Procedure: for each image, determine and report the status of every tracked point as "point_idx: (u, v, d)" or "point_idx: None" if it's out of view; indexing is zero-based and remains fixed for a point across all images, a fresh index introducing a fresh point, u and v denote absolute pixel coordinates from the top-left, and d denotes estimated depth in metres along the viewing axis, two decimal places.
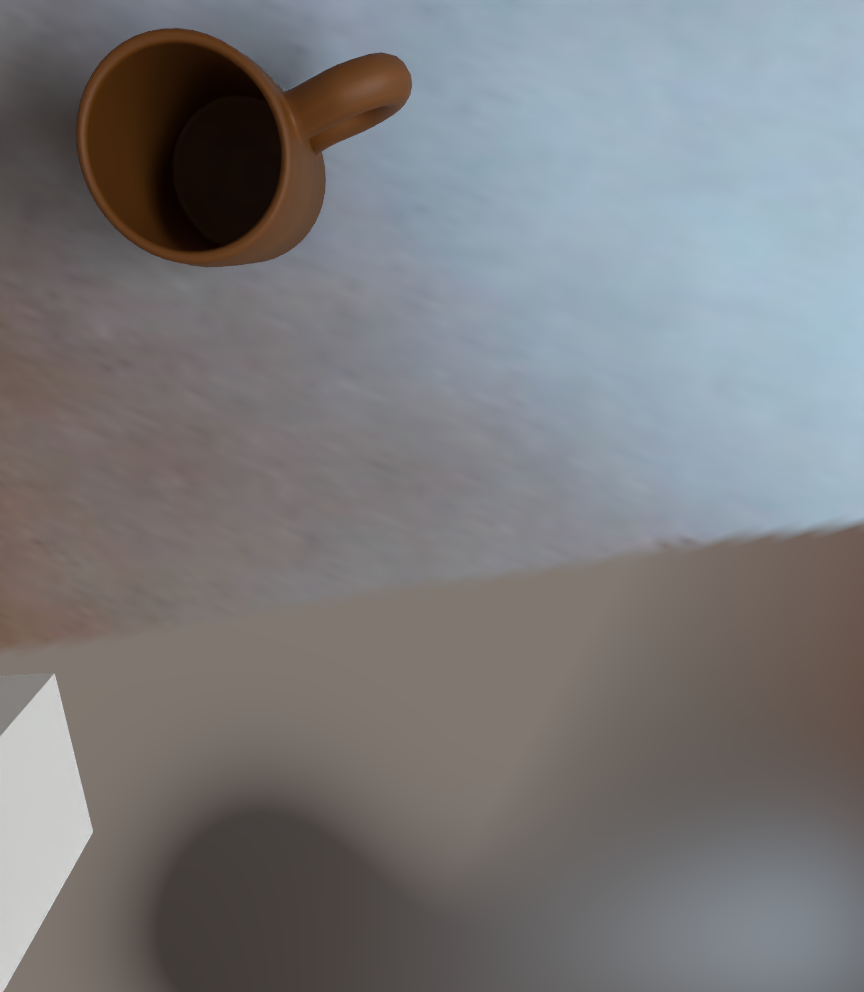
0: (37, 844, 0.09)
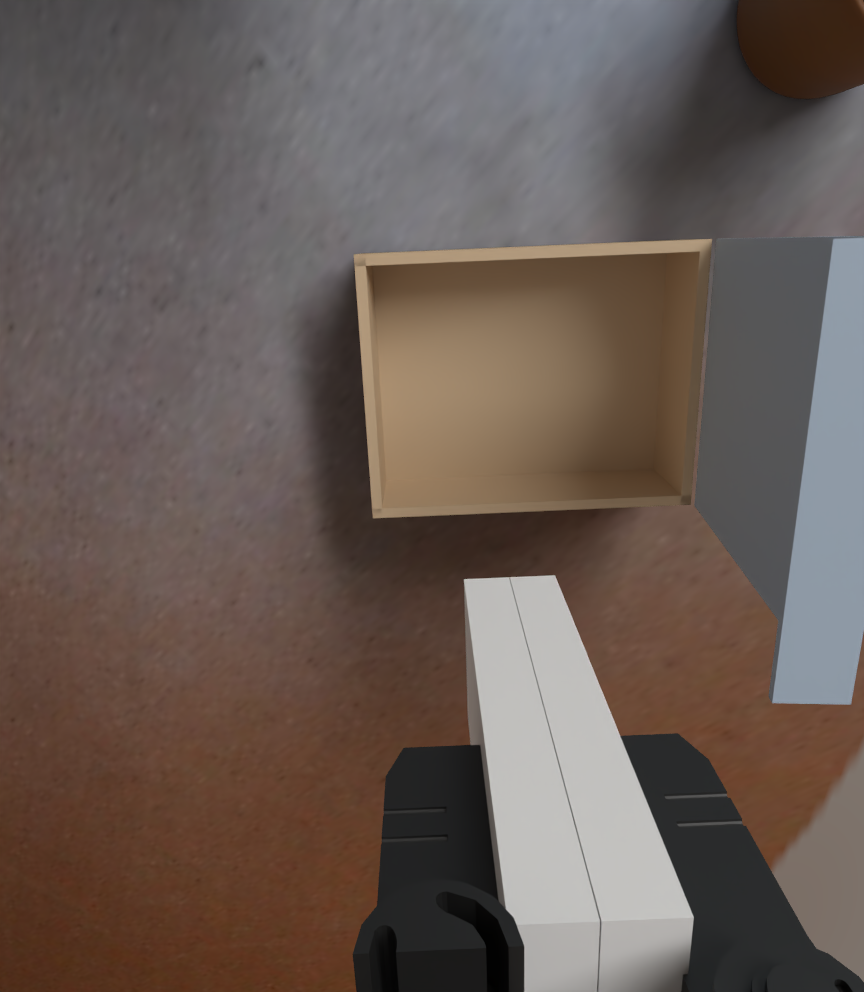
0: None
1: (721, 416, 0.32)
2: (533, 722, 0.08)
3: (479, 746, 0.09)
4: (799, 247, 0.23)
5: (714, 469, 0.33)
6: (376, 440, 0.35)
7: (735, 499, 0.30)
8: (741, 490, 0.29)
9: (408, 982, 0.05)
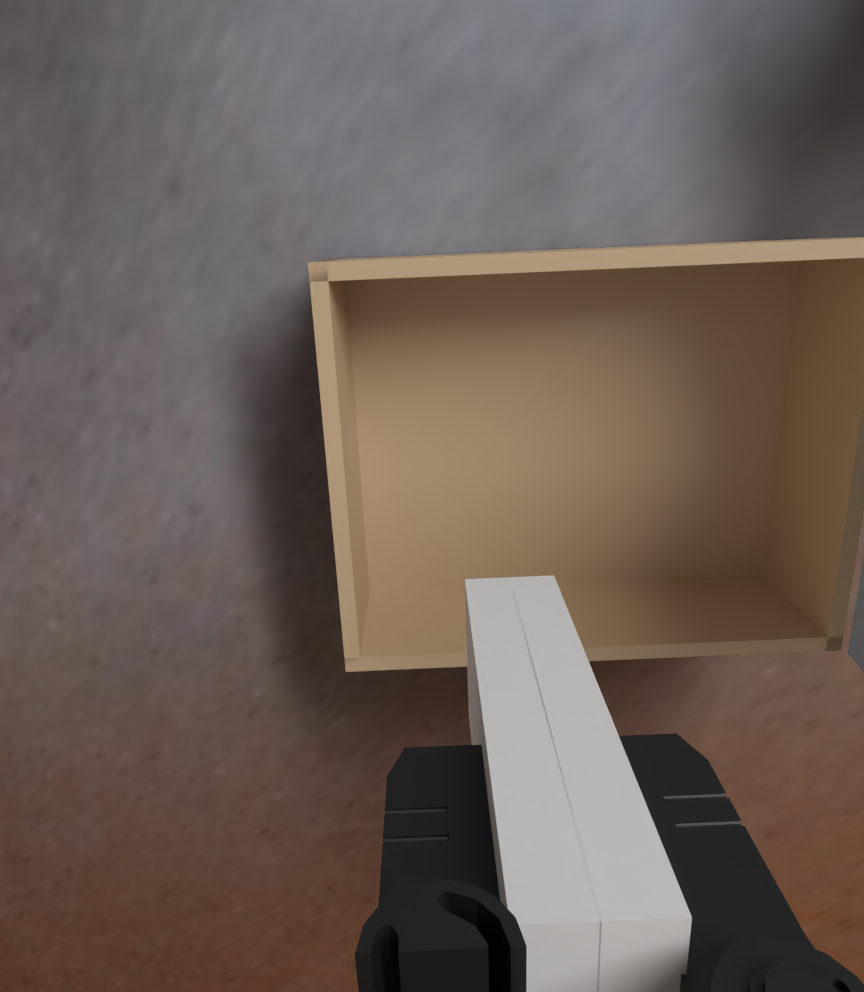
0: None
1: None
2: (532, 722, 0.08)
3: (480, 746, 0.09)
4: None
5: None
6: (349, 557, 0.22)
7: None
8: None
9: (410, 982, 0.05)
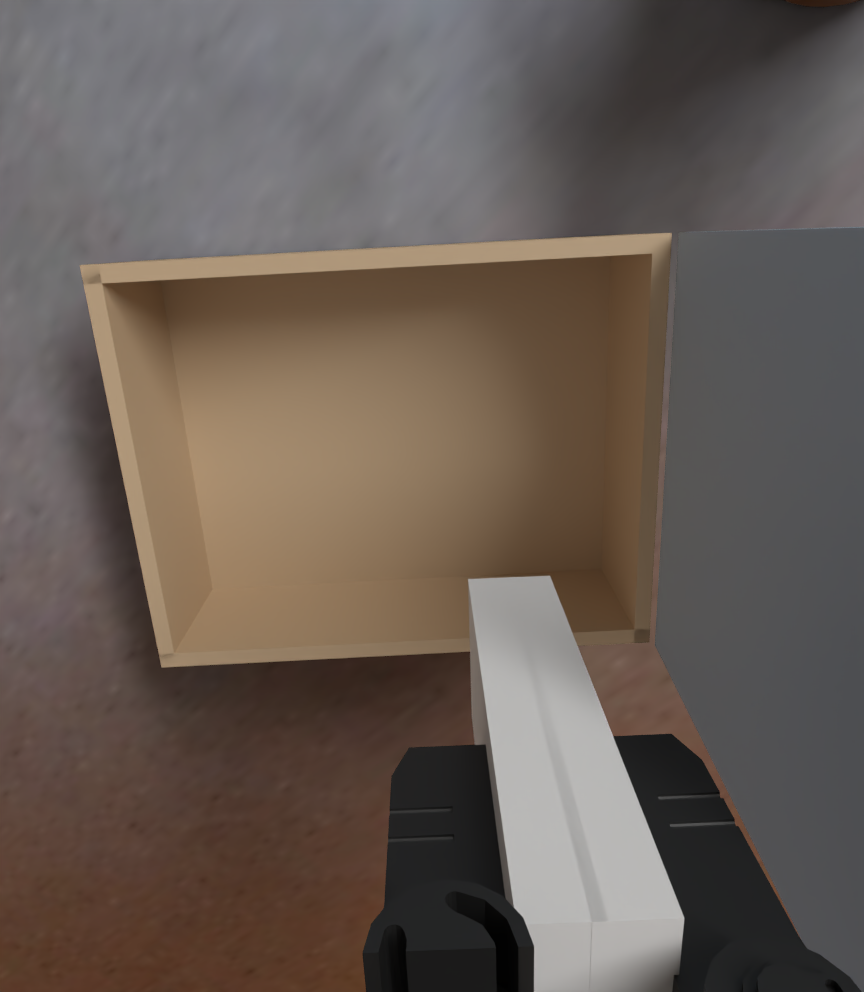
0: None
1: (695, 530, 0.19)
2: (526, 722, 0.08)
3: (484, 746, 0.09)
4: None
5: (686, 610, 0.20)
6: (153, 554, 0.22)
7: (727, 688, 0.17)
8: (739, 681, 0.16)
9: (418, 982, 0.05)
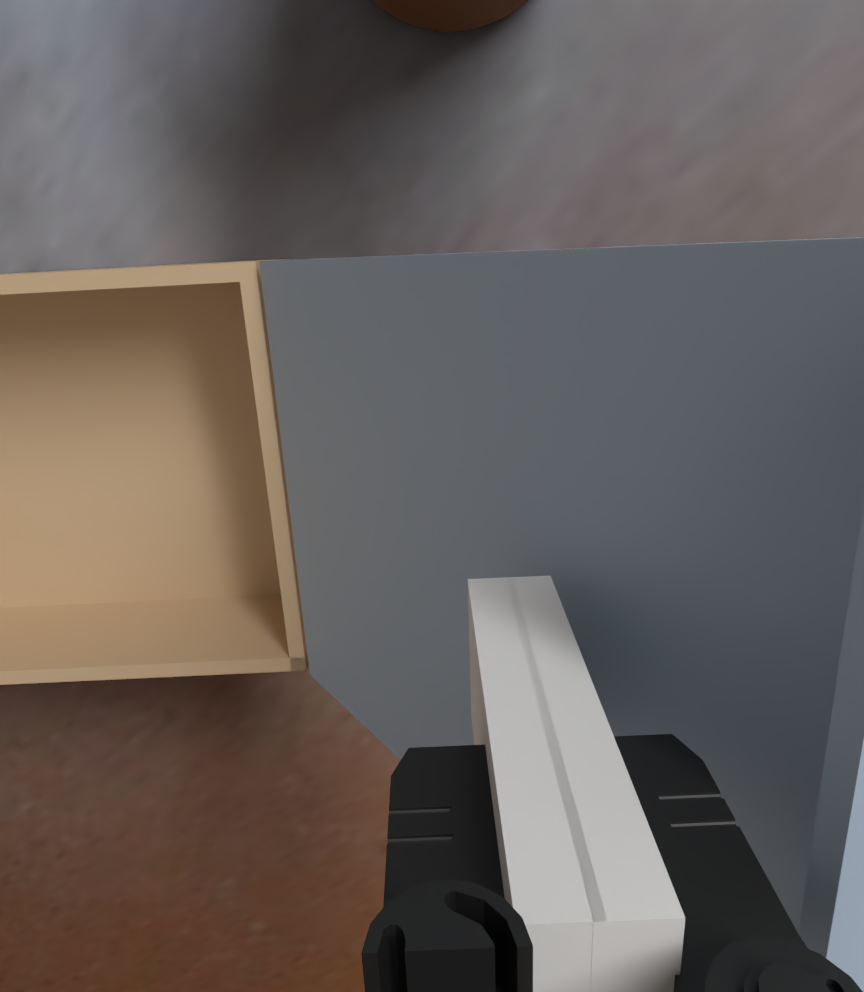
0: None
1: (340, 551, 0.19)
2: (527, 722, 0.08)
3: (484, 746, 0.09)
4: (503, 271, 0.12)
5: (345, 631, 0.20)
6: None
7: (411, 693, 0.18)
8: (424, 683, 0.17)
9: (417, 981, 0.05)
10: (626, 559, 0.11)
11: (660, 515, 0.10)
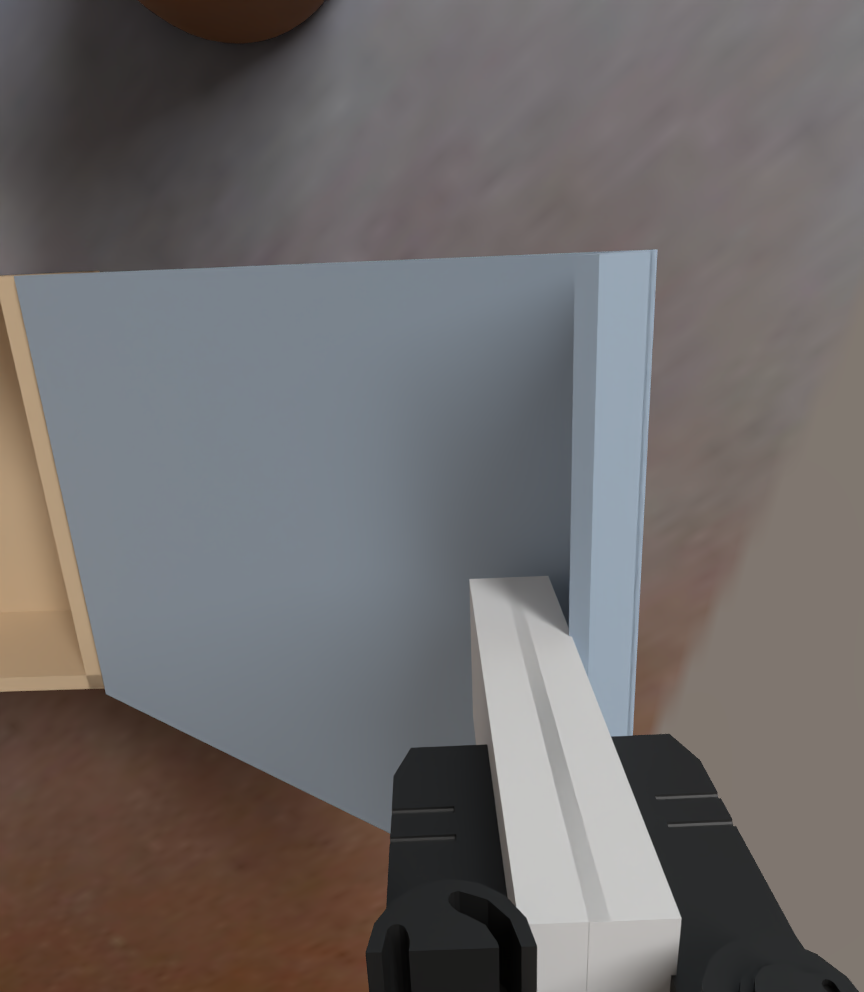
0: None
1: (134, 558, 0.20)
2: (524, 723, 0.08)
3: (486, 746, 0.09)
4: (284, 282, 0.14)
5: (145, 637, 0.20)
6: None
7: (224, 679, 0.19)
8: (237, 666, 0.18)
9: (421, 981, 0.05)
10: (412, 511, 0.14)
11: (435, 471, 0.13)
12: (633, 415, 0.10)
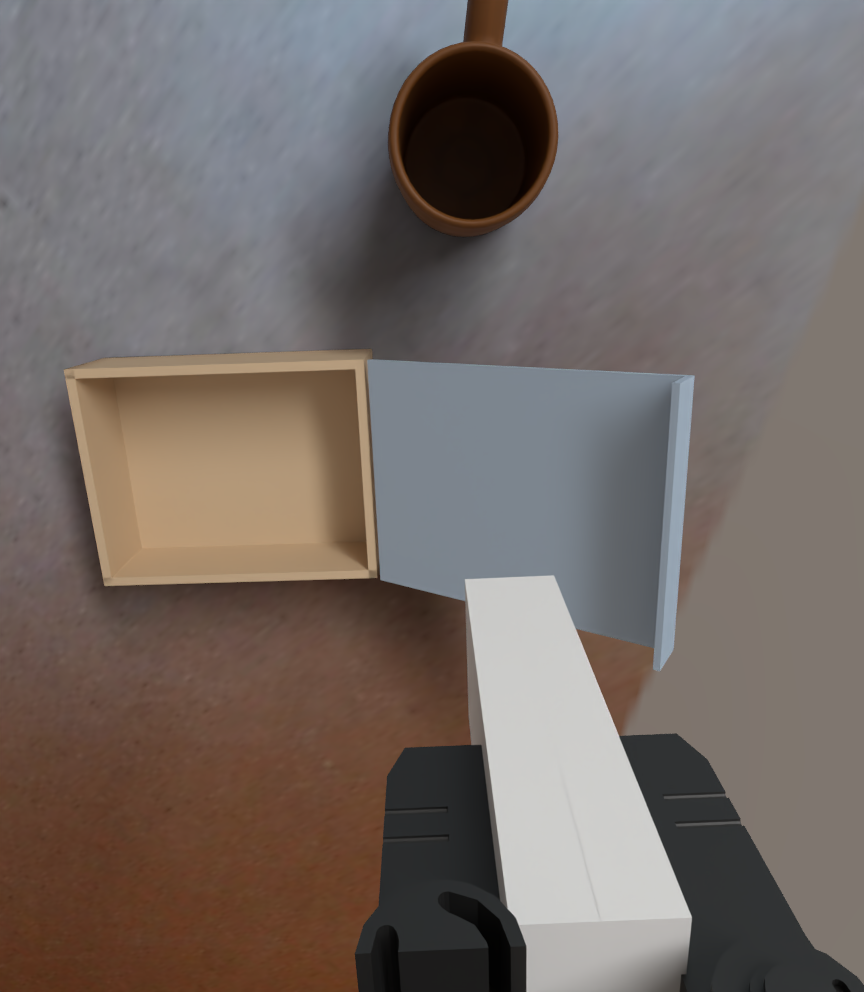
0: None
1: (420, 501, 0.39)
2: (532, 722, 0.08)
3: (480, 746, 0.09)
4: (535, 375, 0.33)
5: (418, 543, 0.40)
6: (100, 521, 0.41)
7: (469, 560, 0.38)
8: (479, 551, 0.38)
9: (410, 982, 0.05)
10: (588, 470, 0.33)
11: (601, 453, 0.32)
12: (686, 431, 0.30)
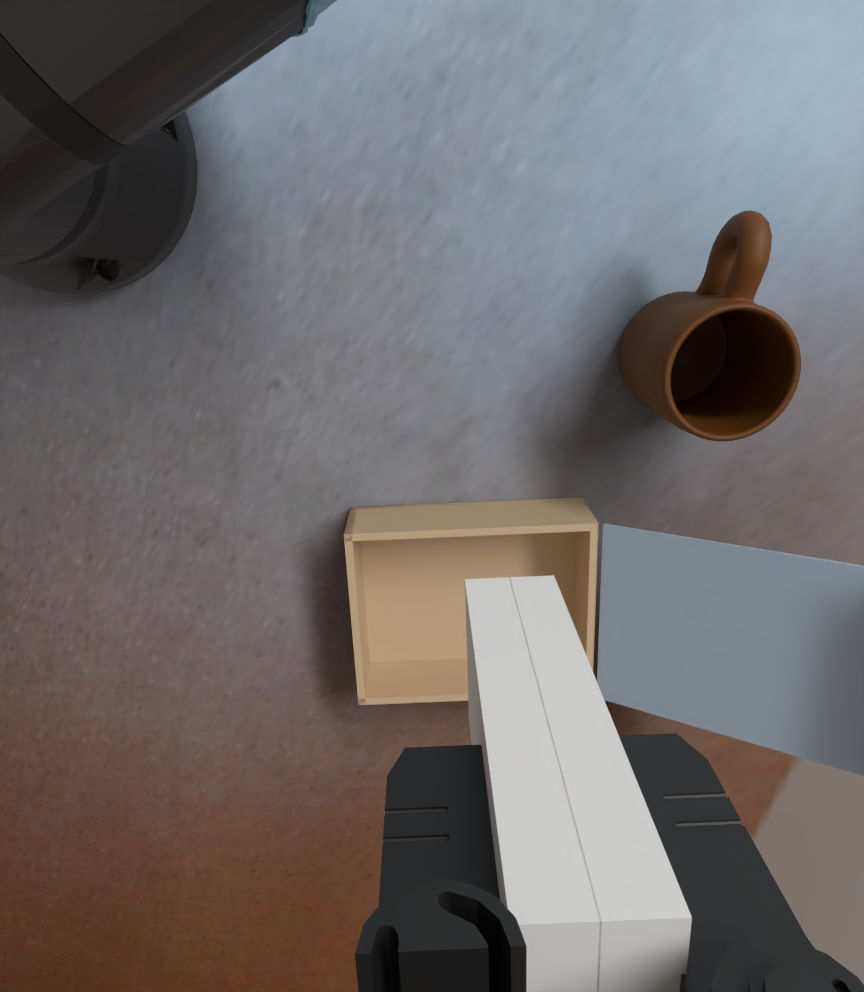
0: None
1: (644, 640, 0.46)
2: (532, 722, 0.08)
3: (480, 746, 0.09)
4: (771, 557, 0.40)
5: (638, 673, 0.47)
6: (360, 653, 0.48)
7: (689, 691, 0.45)
8: (700, 685, 0.45)
9: (411, 982, 0.05)
10: (815, 635, 0.40)
11: (828, 623, 0.40)
12: None
